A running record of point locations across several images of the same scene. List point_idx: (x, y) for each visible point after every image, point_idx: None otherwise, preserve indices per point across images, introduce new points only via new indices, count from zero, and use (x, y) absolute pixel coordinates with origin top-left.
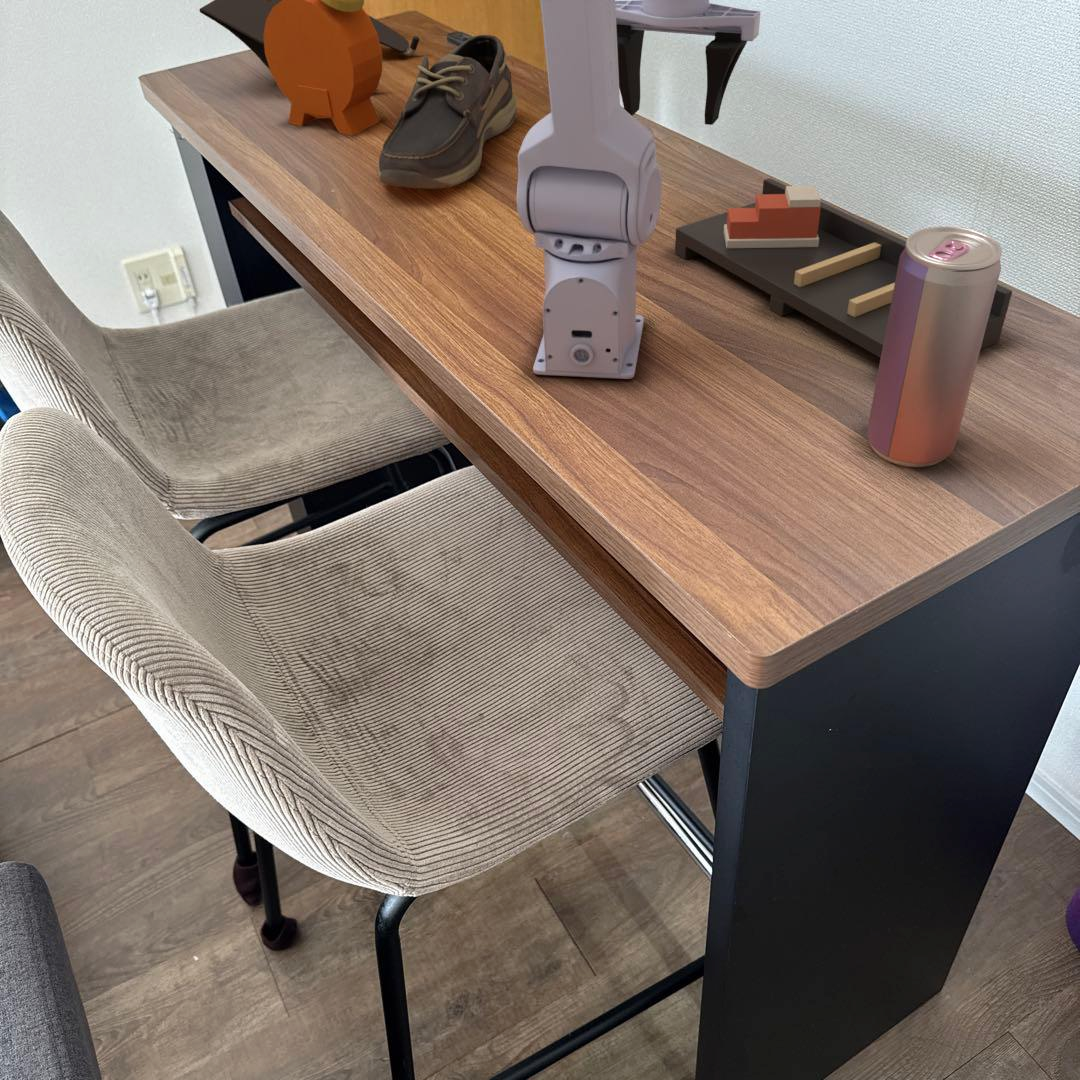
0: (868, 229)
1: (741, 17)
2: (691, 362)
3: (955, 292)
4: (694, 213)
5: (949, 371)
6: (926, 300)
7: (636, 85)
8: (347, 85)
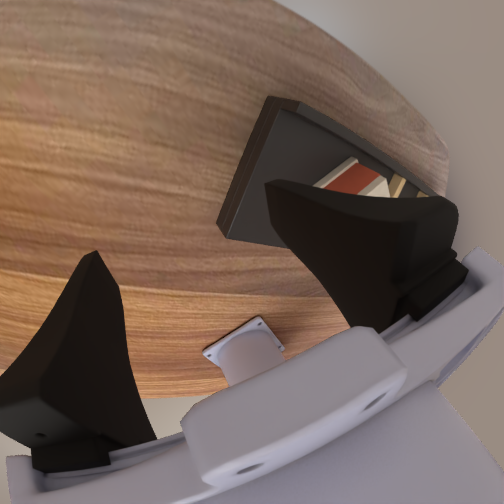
0: (404, 177)
1: (478, 342)
2: (303, 317)
3: None
4: (172, 118)
5: None
6: None
7: (100, 301)
8: None
